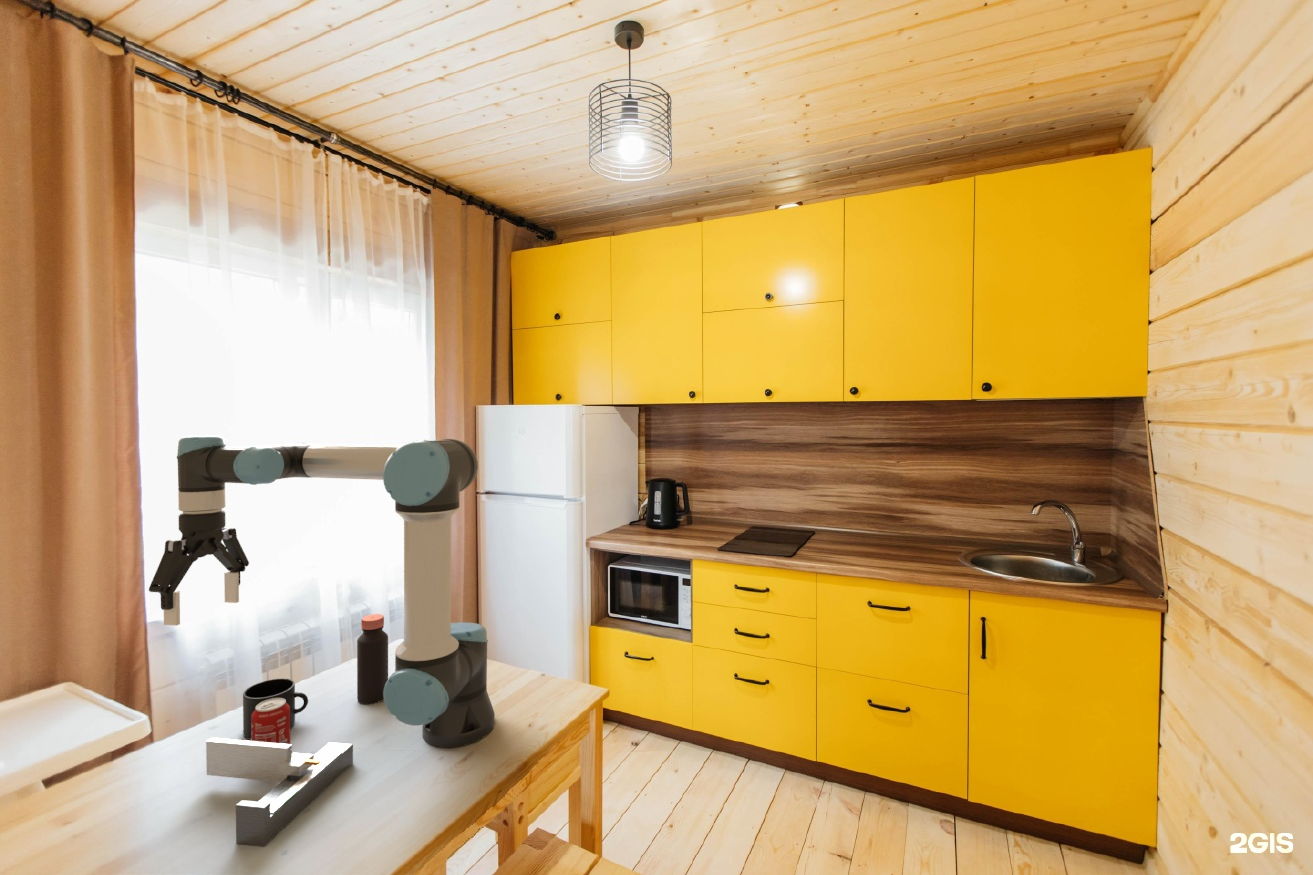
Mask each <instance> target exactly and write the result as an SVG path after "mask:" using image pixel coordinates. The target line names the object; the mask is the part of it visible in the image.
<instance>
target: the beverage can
mask: <svg viewBox="0 0 1313 875" xmlns="http://www.w3.org/2000/svg"><path fill="white" fill-rule="evenodd" d="M251 735H252V739H251V741H257V742H269V743H281V744H291V728H290V706H289V705H288V704H287V703H286V700H285V699H283V698H272V699H268V700H265V701H263V702H260V703H259V704H258V705H257V706H256V707H255V711H254V712H253V713H252V716H251Z"/></svg>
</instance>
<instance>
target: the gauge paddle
mask: <svg viewBox="0 0 1313 875" xmlns="http://www.w3.org/2000/svg"><path fill="white" fill-rule="evenodd" d="M205 748H206V749H205V750H206V752H205V753H206V756H205V757H206V758H205V759H206V761H205V762H206V776H215V777H224V778H232V779H233V778H234V779H244V780H256V781H265V782H267V781H268V782H276V783H277V782H279V783H281V782H282V781H283V780H284V779H286V778H287V777H288V776H289V775H294V776H300V775H301V774H302V773H304V772H305V771H306V770H307V769H308V768H309V767H311V766H312V765H319V764H320V761H319V760H314V755H315V754H314V753H313V754H312V753H303V752H302V753H301V752H293V745H292V744H291V743H290V744H281V743H269V742H257V741H252V740H243V739H234V738H233V739H232V738H223V737H222V738H221V737H210V738H209V739H207V740H206V741H205Z"/></svg>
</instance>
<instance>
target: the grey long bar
mask: <svg viewBox="0 0 1313 875" xmlns="http://www.w3.org/2000/svg"><path fill="white" fill-rule="evenodd" d="M314 760H319V761H320V764H319V765H312V766H311V767H309V768H308V769H307V770H306V771H305V772H304V773H302V774H301V775H300V776H294V775H289V776H288V777H287V778H286V779H284V780H283V781H282V782H279V783H277V785H275V787H274V788H272V789H271V790H269V792H268V793H266V794H265V795H264V796H263V797H261V798H260V799H259V800H258V801H254V800H245V799H244V800H243V799H242V800H239V802H238V803H236V804H235V841H236V842H235V844H236V845H245V846H252V847H253V846H254V847H262V848H265V847H266V846H267V845H268V844H269V843H270V842H271V841H272V840H273V839H275V838H276V837H277V836H278V835H279V834H280V833H282V831H283V830H284V829H285V828H286V827H287V826H288V825H290V823H292V821H294V820H295V819H296V818H297V817H298V816H299V815H300V814H301V813H303V812H304V810H306V808H308V807H309V806H310V805H311V804H312V803H313V802H314V801H315V800H316V799H317V798H318V797H319V796H320V795H321V794H322V793H323V792H325V791H326V790H327V789H328V788H329V787H331V785H332V784H333V783H335V781H336V780H337V779H338V778H339V777H341V776H342V775H343V774H344V773H345V771H347V770H348V769H349V768H350V767H351V766H352V765H353V764H354V744H353V743H347V742H346V743H344V742H335V741H334V742H333V741H332V742H331V741H329V742H328V743H327V744H325V745H324V746H323V747H322V748H321V749H319V750H318V751H317V752H316V753H315V754H314Z"/></svg>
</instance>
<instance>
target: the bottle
mask: <svg viewBox="0 0 1313 875" xmlns="http://www.w3.org/2000/svg"><path fill="white" fill-rule="evenodd" d="M360 623H361V631H362V634H360V636H359V637H358V638H357V640H356V645H357V646H356V651H357V652H356V657H357V658H356V660H357V662H356V668H357V669H356V672H357V674H356V681H357V682H356V683H357V684H356V685H357V686H356V689H357V691H356V693H357V694H356V696H357V697H356V698H357V702H358V703H360V704H363V705H373V704H377V703H380V702H382V701H384V697H383V691H384V687H385V684H386V682H387V681H388V679H389V636H388V633H387V632H385V631H384V630H383V629H384V625H385V616H384V615H383V614H380V613H373V614H368V615H365V616H363V617H362V618H361V622H360Z"/></svg>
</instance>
